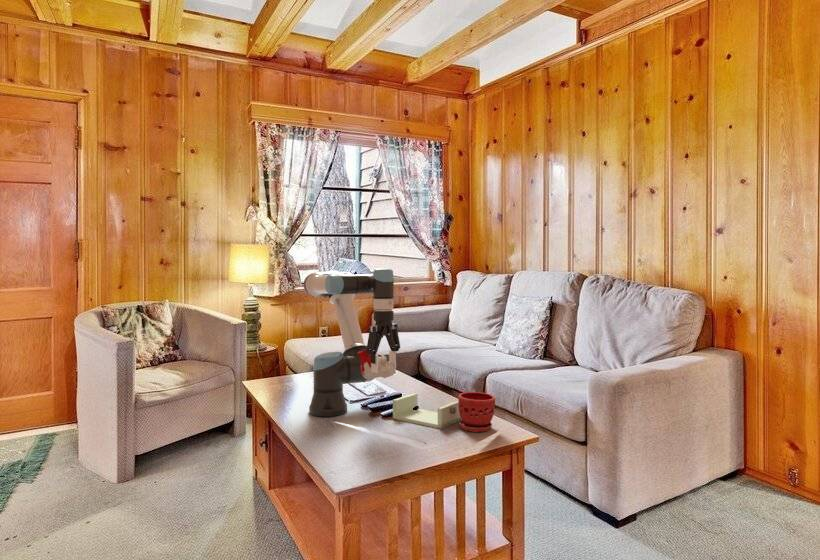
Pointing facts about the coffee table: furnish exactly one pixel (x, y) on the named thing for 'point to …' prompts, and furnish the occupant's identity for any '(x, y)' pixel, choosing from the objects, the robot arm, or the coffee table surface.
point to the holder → (425, 412)
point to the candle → (383, 366)
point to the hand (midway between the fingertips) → (383, 370)
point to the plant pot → (476, 411)
